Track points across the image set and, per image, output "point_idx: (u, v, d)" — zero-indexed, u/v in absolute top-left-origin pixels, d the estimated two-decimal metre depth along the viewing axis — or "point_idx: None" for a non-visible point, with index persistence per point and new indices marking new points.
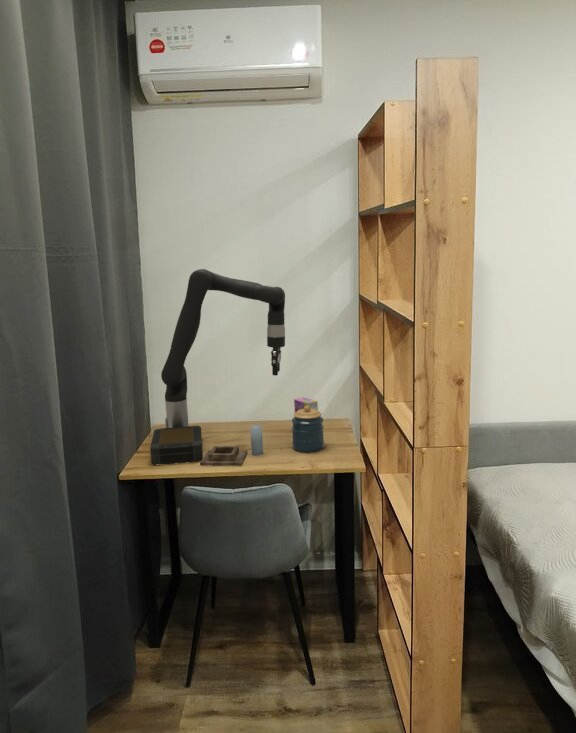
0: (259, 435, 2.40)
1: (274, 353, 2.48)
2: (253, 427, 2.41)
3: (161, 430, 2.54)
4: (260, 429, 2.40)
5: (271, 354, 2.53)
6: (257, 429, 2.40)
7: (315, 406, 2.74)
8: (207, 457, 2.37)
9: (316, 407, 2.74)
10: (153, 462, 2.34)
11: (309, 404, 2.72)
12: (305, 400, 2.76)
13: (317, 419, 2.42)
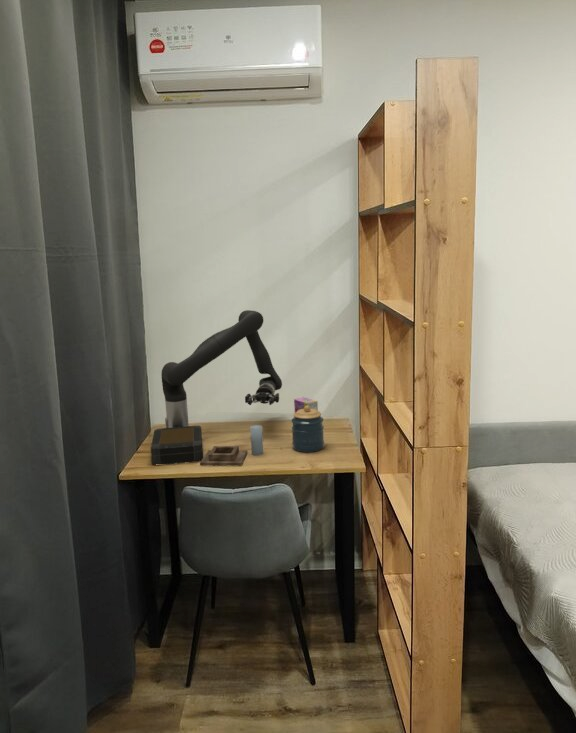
0: (259, 435, 2.40)
1: None
2: (253, 427, 2.41)
3: (161, 430, 2.54)
4: (260, 429, 2.40)
5: (268, 393, 2.60)
6: (257, 429, 2.40)
7: (315, 406, 2.74)
8: (207, 457, 2.37)
9: (316, 407, 2.74)
10: (153, 462, 2.34)
11: (309, 404, 2.72)
12: (305, 400, 2.76)
13: (317, 419, 2.42)
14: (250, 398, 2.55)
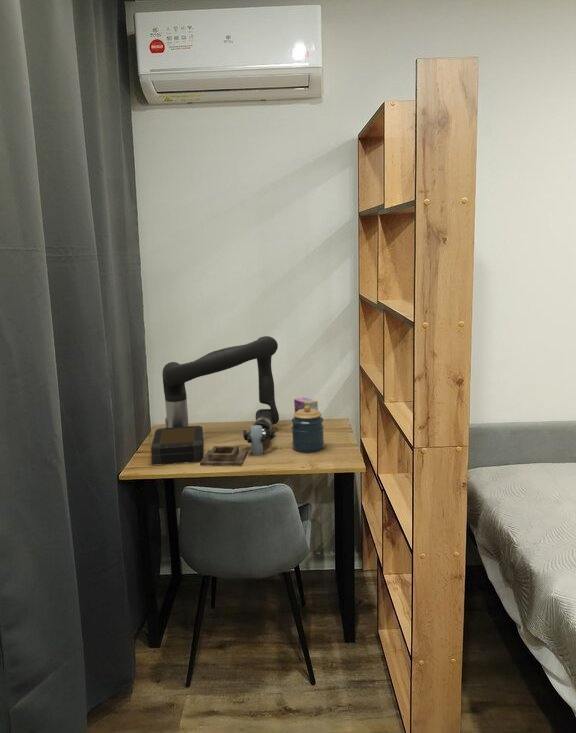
0: (259, 435, 2.40)
1: (275, 433, 2.48)
2: (253, 427, 2.41)
3: (162, 430, 2.54)
4: (260, 429, 2.40)
5: (264, 430, 2.48)
6: (257, 429, 2.39)
7: (315, 406, 2.74)
8: (207, 457, 2.37)
9: (316, 407, 2.74)
10: (154, 462, 2.34)
11: (309, 404, 2.72)
12: (305, 400, 2.76)
13: (317, 419, 2.42)
14: (250, 436, 2.43)
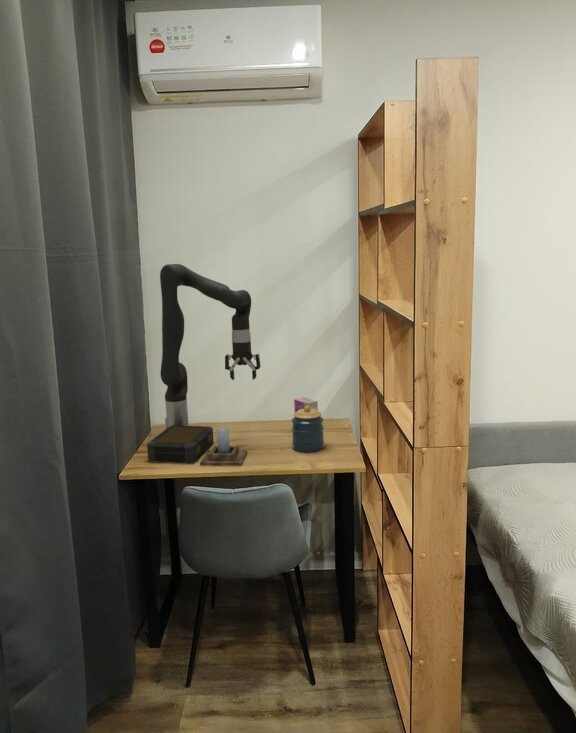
0: (224, 438, 2.34)
1: None
2: (219, 429, 2.36)
3: (174, 427, 2.57)
4: (225, 432, 2.34)
5: None
6: (221, 432, 2.34)
7: (315, 406, 2.74)
8: (207, 457, 2.37)
9: (316, 407, 2.74)
10: (148, 458, 2.38)
11: (309, 404, 2.72)
12: (305, 400, 2.76)
13: (317, 419, 2.42)
14: None
